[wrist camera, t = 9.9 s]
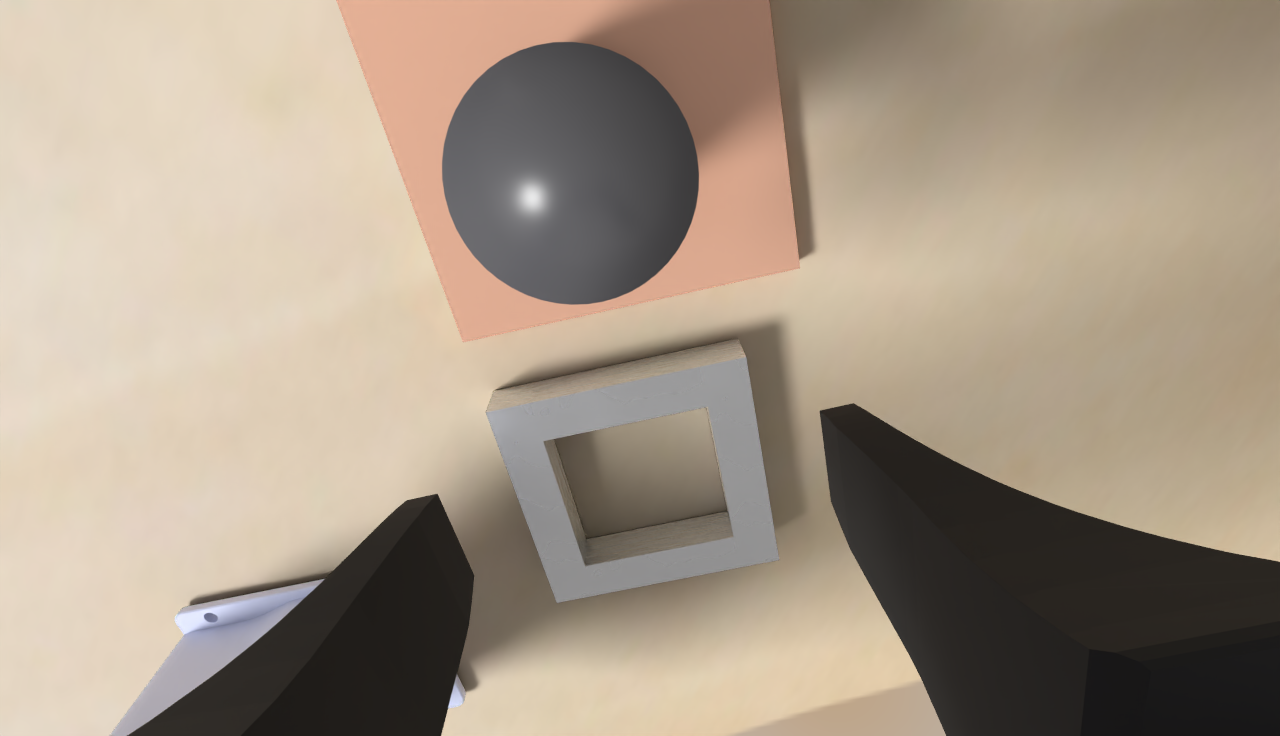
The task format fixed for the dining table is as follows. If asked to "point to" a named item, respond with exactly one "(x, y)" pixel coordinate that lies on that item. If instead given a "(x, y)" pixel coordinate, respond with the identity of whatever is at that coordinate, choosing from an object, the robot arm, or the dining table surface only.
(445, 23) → the tile
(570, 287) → the plug
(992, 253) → the dining table surface
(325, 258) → the dining table surface
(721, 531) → the socket collar
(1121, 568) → the robot arm
